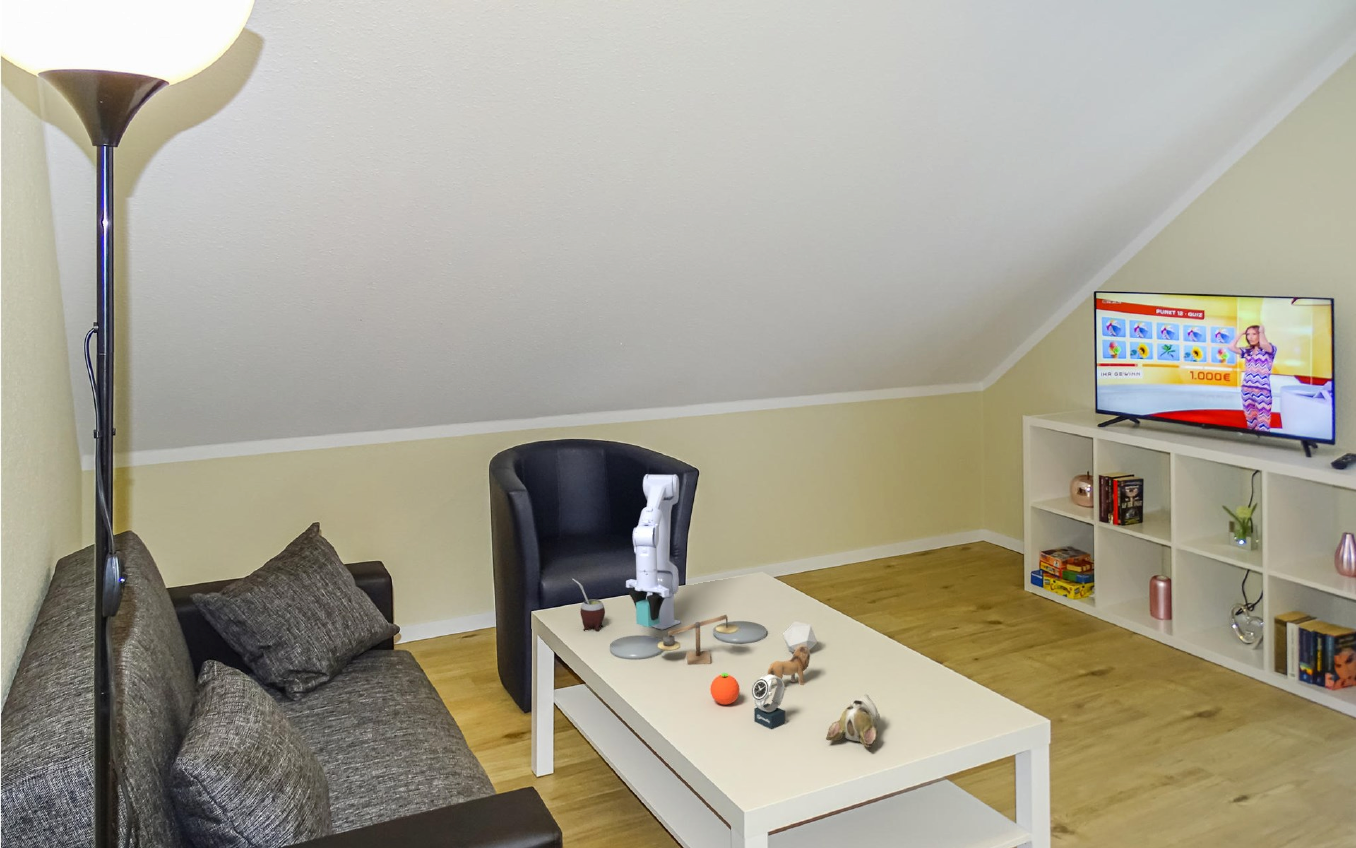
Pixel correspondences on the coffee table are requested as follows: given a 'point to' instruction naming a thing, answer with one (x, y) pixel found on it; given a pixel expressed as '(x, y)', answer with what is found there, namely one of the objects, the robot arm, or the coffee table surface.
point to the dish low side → (636, 647)
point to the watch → (769, 712)
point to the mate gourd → (591, 612)
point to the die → (799, 636)
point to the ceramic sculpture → (857, 722)
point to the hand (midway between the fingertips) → (648, 617)
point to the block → (645, 614)
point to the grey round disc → (742, 633)
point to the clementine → (724, 689)
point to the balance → (697, 655)
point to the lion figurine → (792, 665)
